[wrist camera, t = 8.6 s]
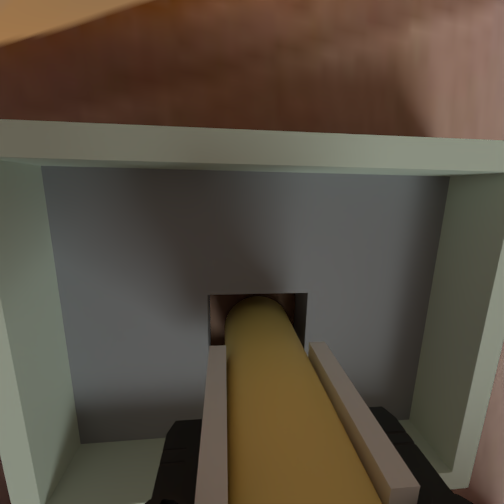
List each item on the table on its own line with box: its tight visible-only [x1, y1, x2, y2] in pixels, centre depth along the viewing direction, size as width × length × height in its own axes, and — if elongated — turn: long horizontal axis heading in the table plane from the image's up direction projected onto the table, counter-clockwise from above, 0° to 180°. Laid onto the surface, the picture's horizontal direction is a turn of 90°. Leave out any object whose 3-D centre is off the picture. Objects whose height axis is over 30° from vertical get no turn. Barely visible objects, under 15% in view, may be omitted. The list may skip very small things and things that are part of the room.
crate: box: [0, 119, 504, 504], centre depth 15 cm, size 23×18×6 cm
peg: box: [225, 296, 382, 504], centre depth 11 cm, size 4×4×12 cm
